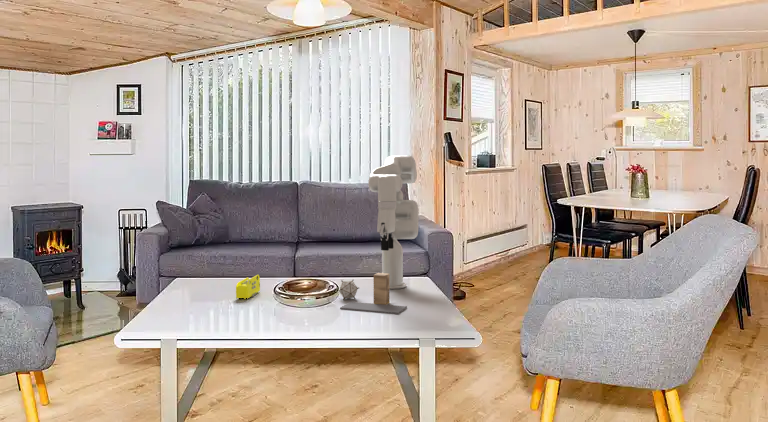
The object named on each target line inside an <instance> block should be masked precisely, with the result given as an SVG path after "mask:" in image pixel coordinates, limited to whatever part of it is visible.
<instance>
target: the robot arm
mask: <svg viewBox="0 0 768 422" xmlns="http://www.w3.org/2000/svg"><path fill="white" fill-rule="evenodd" d="M417 177H418V171H417V162H416V160H415V158H414V157H413V156H412V155H404V154H402V155H400V154H398V155H397V154H395V155H390V156H387V157H386V158H385V159H384V162H383V164H382V166H378V167H376V168H375V169H373V170H372V171H371V172H370V173H369V178H368V184H367V185H368V189H369V190H370V192H372V193H377V209H378V211H377V212H378V213H377V229H376V230H377V233H378V234H379V235H380V236H379V237H380V250H381V265H382V266H381V273H387V274H389V290H390V289H391V290H392V289H393V290H396V289H397V290H398V289H404V288H406V287H407V283H406V282H404V281H403V280H404V279H403V278H404V276H403V275H404V273H403V272H404V271H403V269H404V268H403V267H404V266H403V265H404V260H403V259H404V255H403V253H404V249H403V246H402V245H401V243H400V242H399V241H398V240H414V239H416V238H417V237H418V235H419V213H420V212H419V205H418V203H417V201H415V200H414V199H404V193H403V191H402V190H401V189H402V188H403V184H413V183H415V182H416V180H417Z"/></svg>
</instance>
